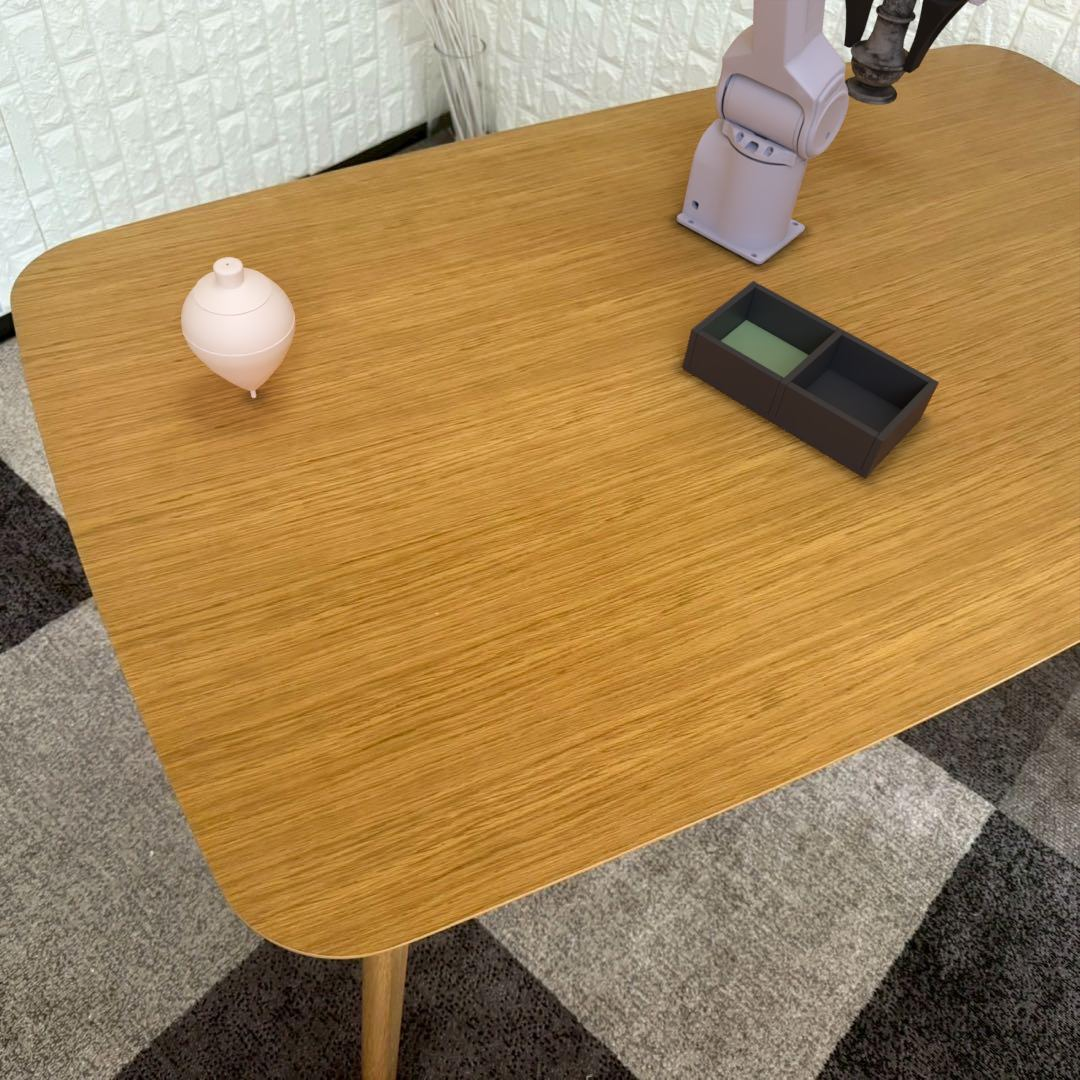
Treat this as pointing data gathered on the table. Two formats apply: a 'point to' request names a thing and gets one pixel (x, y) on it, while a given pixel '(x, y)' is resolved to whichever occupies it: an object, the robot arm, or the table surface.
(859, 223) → the table surface
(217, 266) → the spinning top
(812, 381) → the divided box
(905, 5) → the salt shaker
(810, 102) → the robot arm
